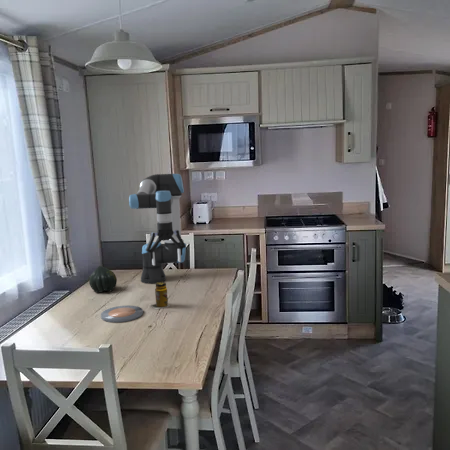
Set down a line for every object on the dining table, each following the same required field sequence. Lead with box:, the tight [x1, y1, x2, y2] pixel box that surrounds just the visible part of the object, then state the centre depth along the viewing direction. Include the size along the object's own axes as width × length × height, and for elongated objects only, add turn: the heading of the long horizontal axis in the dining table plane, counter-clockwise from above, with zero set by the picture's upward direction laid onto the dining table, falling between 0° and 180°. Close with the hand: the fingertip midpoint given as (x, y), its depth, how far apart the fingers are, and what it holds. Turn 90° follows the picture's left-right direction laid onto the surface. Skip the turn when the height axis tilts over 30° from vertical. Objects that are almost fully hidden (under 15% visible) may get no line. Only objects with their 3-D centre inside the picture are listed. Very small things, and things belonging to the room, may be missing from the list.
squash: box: [88, 265, 118, 293], centre depth 260 cm, size 14×15×15 cm
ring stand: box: [100, 304, 144, 323], centre depth 221 cm, size 20×20×1 cm
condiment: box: [149, 281, 171, 310], centre depth 231 cm, size 7×8×12 cm
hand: (166, 263), depth 230 cm, fingers open, 13 cm apart
